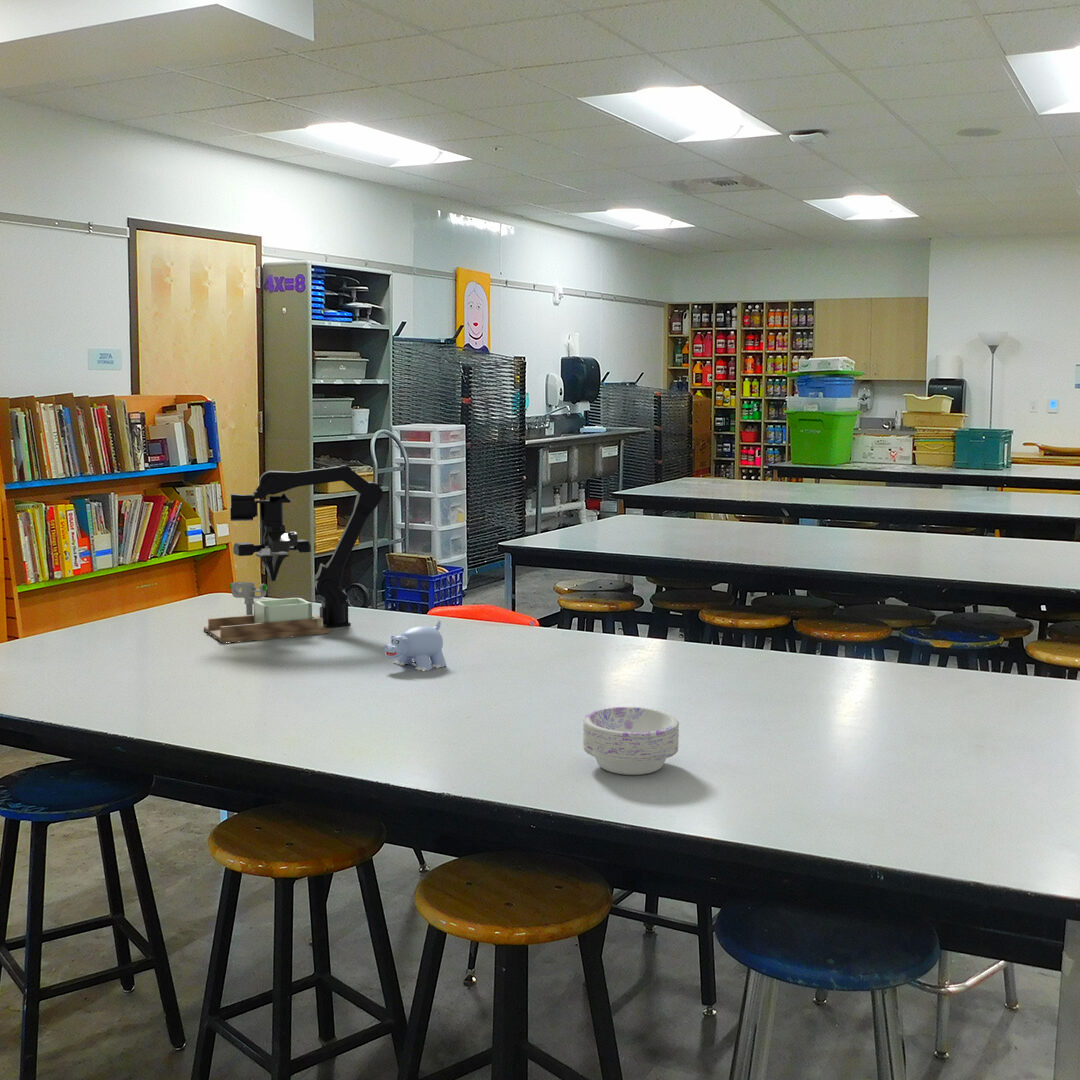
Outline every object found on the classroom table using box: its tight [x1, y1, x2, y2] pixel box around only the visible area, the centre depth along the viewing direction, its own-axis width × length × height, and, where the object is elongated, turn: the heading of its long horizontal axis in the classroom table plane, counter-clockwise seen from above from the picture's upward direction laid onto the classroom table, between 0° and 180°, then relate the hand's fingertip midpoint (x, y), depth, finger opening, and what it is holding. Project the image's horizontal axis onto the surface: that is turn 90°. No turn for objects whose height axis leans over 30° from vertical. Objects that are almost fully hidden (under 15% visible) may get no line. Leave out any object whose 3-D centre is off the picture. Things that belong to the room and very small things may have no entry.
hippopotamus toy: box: [384, 619, 447, 671], centre depth 252 cm, size 11×15×10 cm
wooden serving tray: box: [203, 612, 331, 644], centre depth 289 cm, size 27×18×4 cm, turn 120°
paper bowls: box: [582, 706, 680, 776], centre depth 183 cm, size 15×15×8 cm
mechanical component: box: [229, 581, 269, 615], centre depth 304 cm, size 3×10×10 cm, turn 78°
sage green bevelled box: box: [253, 597, 313, 624], centre depth 291 cm, size 12×10×6 cm
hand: (273, 581), depth 294 cm, fingers closed
